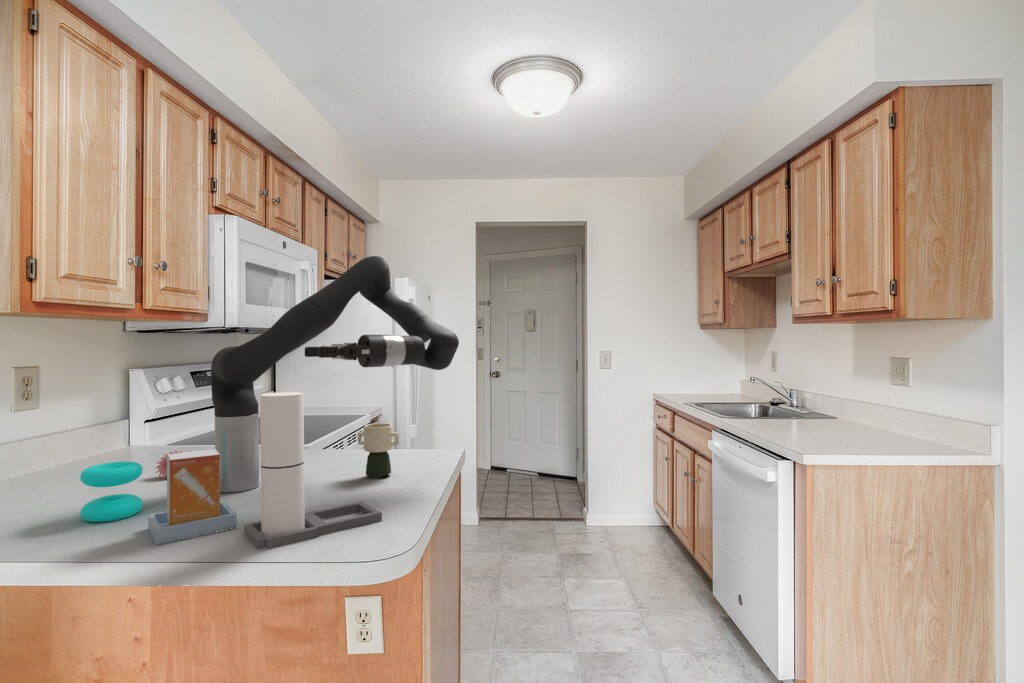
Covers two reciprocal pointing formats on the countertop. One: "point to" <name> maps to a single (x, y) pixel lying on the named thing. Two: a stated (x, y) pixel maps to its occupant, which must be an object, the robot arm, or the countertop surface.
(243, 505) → the countertop surface
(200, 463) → the small box
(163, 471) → the flower
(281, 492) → the cylindrical container
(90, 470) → the donuts
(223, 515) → the tray
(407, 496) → the countertop surface
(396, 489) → the countertop surface
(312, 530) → the holder
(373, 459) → the character mug
